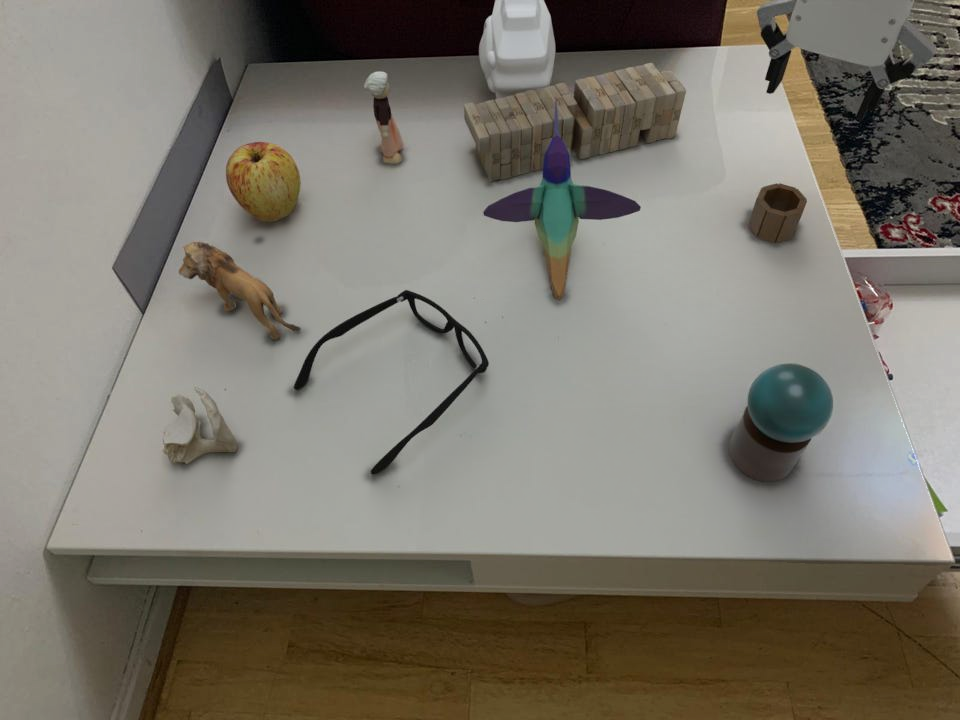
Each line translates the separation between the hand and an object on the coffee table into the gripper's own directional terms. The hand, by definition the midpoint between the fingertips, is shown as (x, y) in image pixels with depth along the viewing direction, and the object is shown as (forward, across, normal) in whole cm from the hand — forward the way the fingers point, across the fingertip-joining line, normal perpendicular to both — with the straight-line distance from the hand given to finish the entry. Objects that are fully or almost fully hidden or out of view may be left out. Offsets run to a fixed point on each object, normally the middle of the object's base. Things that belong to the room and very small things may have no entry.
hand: (817, 100), depth 79 cm
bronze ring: (+17, 0, +2) cm, 17 cm away
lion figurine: (+17, +48, +47) cm, 69 cm away
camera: (+17, +42, -6) cm, 46 cm away
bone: (+18, +39, +63) cm, 76 cm away
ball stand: (+17, -11, +33) cm, 39 cm away
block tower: (+17, +30, 0) cm, 34 cm away
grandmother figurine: (+17, +51, +14) cm, 56 cm away
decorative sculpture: (+18, +22, +18) cm, 33 cm away
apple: (+17, +57, +32) cm, 68 cm away
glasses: (+18, +26, +46) cm, 56 cm away
